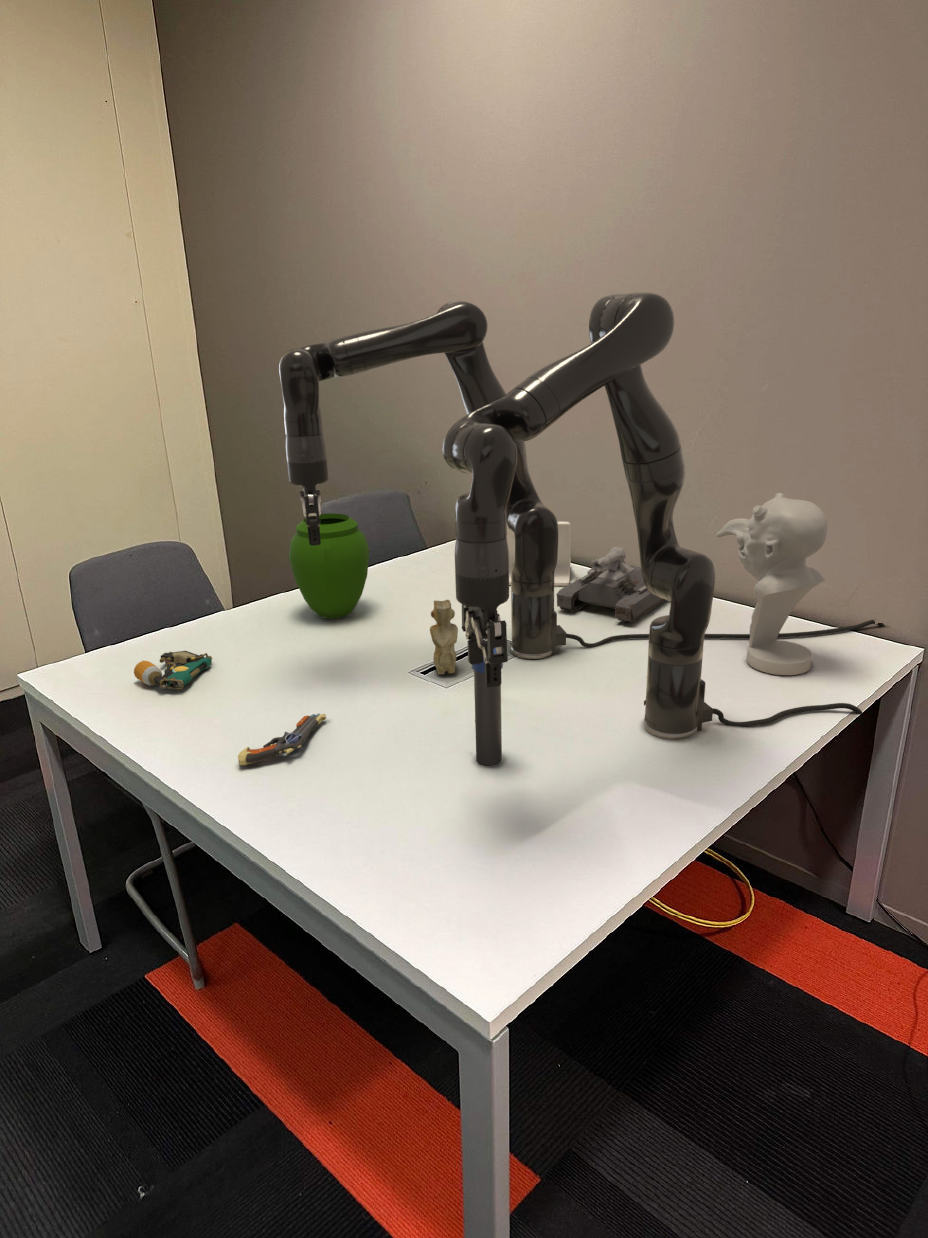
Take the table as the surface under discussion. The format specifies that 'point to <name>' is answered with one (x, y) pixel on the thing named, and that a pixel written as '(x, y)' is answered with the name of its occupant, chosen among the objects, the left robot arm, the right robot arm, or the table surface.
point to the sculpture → (444, 637)
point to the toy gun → (282, 741)
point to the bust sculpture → (778, 575)
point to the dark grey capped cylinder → (487, 722)
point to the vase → (330, 565)
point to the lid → (482, 665)
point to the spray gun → (172, 669)
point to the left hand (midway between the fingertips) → (314, 539)
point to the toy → (611, 589)
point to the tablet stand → (562, 561)
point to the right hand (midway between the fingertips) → (484, 674)
